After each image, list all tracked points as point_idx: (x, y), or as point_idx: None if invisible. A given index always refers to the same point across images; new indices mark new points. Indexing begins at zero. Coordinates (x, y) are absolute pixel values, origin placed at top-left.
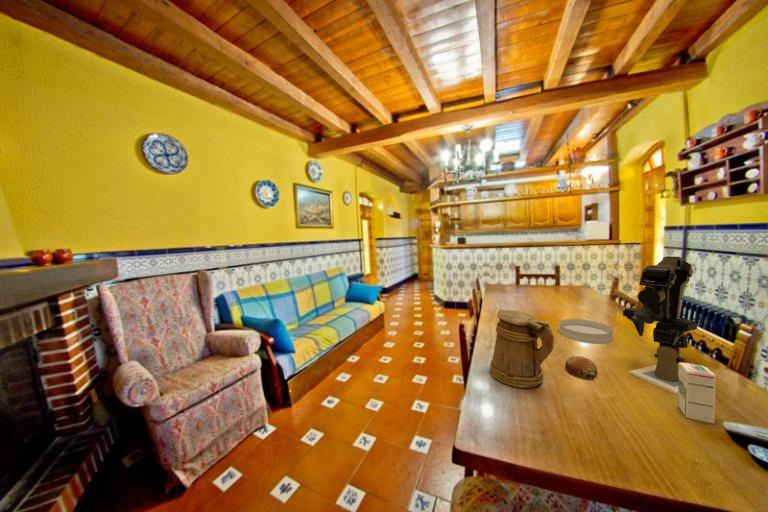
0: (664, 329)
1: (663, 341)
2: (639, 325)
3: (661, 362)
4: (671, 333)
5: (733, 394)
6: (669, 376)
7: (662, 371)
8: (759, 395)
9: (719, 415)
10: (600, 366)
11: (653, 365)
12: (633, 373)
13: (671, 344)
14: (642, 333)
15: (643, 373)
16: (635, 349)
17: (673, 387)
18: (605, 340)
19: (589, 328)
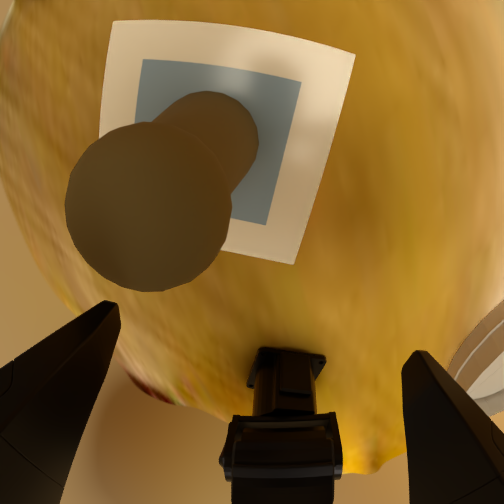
0: (293, 485)
1: (303, 426)
2: (467, 466)
3: (191, 118)
4: (1, 425)
5: (58, 230)
6: (170, 106)
7: (196, 100)
8: (47, 281)
9: (23, 24)
10: (465, 45)
11: (298, 246)
12: (332, 47)
13: (104, 307)
14: (408, 391)
15: (296, 84)
16: (385, 360)
17: (144, 49)
18: (477, 341)
19: (498, 384)
